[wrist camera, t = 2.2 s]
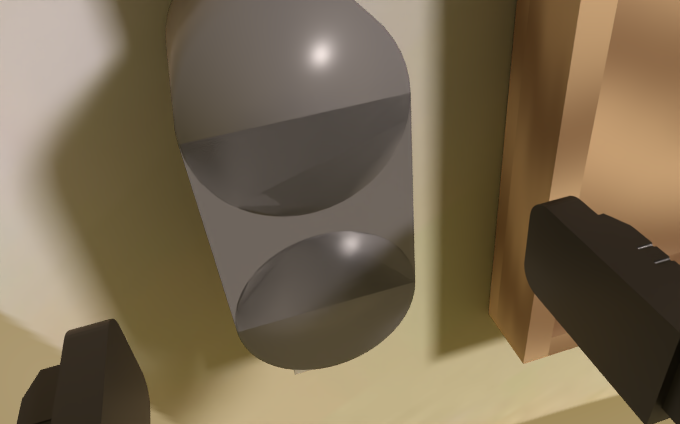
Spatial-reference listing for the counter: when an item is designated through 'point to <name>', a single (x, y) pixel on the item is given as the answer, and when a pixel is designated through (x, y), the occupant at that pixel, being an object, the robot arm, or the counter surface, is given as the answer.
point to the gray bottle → (298, 170)
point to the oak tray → (586, 139)
